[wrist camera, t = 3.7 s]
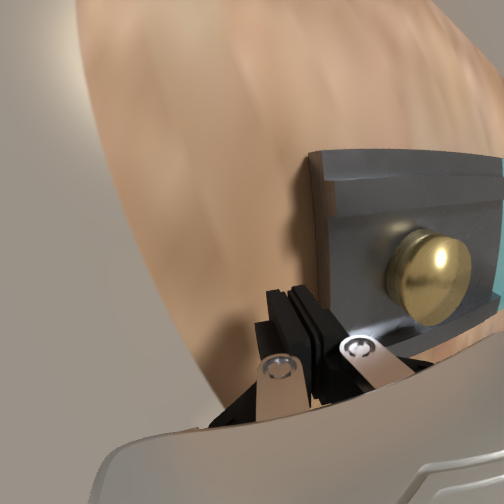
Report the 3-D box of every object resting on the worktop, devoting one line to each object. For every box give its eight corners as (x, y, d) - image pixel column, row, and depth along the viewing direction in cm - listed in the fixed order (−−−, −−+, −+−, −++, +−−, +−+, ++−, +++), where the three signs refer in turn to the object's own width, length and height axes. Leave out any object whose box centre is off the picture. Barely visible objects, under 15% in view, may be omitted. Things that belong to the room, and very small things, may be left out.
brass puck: (448, 224, 14) (475, 233, 11) (440, 296, 15) (463, 312, 13) (387, 234, 13) (415, 246, 11) (383, 315, 15) (404, 336, 12)
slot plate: (484, 156, 15) (512, 159, 12) (471, 311, 19) (492, 326, 16) (308, 152, 14) (330, 148, 11) (319, 366, 18) (334, 396, 15)
